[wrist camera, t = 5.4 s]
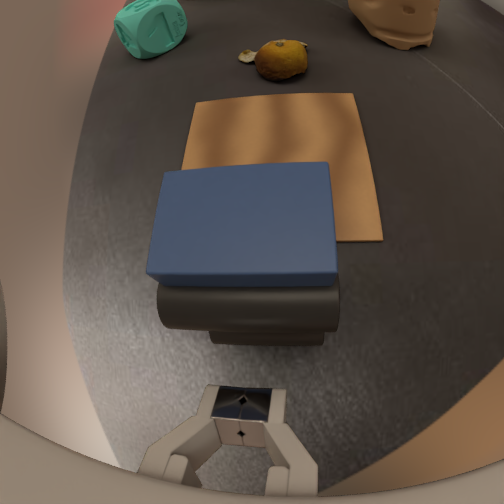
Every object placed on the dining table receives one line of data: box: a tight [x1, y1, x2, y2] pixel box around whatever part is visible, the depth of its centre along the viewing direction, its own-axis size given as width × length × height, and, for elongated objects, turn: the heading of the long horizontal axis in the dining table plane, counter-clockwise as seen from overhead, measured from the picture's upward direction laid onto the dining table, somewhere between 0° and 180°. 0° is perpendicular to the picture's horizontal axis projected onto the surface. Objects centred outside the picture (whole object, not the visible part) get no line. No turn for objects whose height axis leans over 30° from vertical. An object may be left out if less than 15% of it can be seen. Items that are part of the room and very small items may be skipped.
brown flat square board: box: [182, 93, 383, 242], centre depth 25 cm, size 16×16×1 cm
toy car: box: [146, 162, 340, 346], centre depth 15 cm, size 6×6×12 cm
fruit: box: [239, 39, 308, 81], centre depth 28 cm, size 8×8×4 cm
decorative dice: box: [114, 0, 187, 59], centre depth 33 cm, size 8×8×8 cm
